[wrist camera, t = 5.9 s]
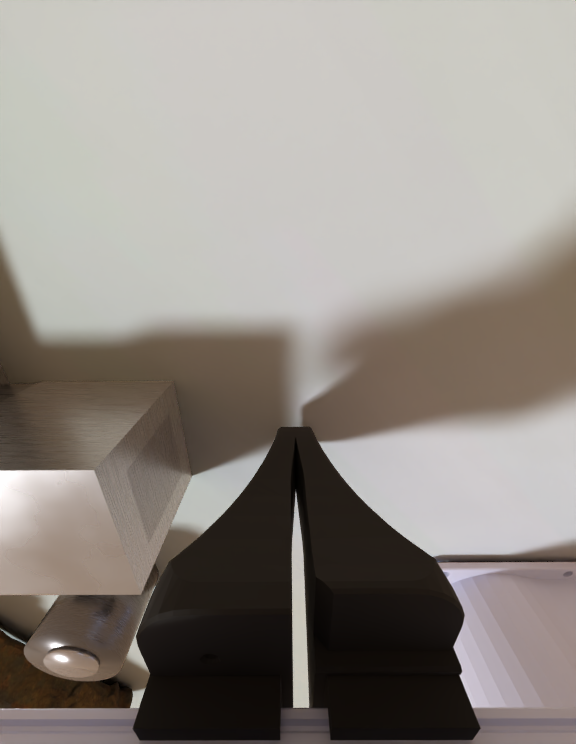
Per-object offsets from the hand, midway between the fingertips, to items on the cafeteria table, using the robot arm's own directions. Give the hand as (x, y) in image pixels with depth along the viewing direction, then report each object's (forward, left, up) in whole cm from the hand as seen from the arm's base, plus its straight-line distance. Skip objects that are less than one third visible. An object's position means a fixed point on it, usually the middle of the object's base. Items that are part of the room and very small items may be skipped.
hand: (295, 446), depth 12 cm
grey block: (+8, 0, -1) cm, 8 cm away
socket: (+10, +10, -1) cm, 14 cm away
